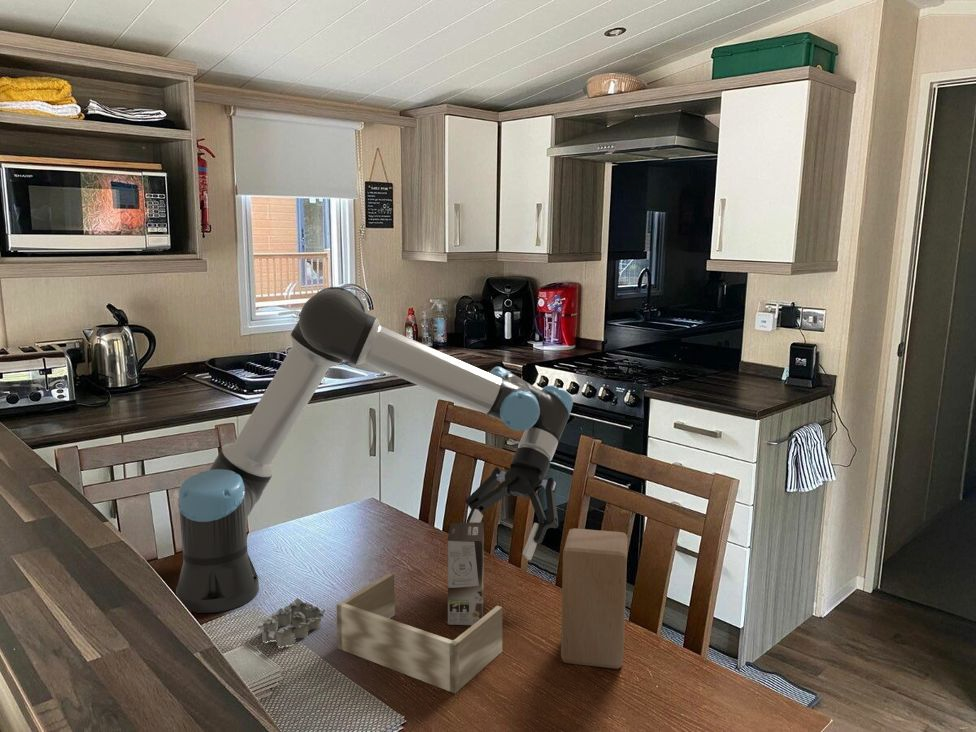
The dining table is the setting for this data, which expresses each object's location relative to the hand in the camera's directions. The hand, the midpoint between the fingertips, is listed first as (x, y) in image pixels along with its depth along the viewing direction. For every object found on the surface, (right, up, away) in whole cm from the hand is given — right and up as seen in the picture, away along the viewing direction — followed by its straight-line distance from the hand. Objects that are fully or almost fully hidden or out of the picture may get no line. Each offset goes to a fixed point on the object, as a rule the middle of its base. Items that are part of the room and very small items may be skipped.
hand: (495, 549), depth 147 cm
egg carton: (-36, -12, -13) cm, 40 cm away
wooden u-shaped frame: (-13, -12, -18) cm, 26 cm away
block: (+16, -13, -19) cm, 28 cm away
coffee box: (-5, -11, -6) cm, 13 cm away
